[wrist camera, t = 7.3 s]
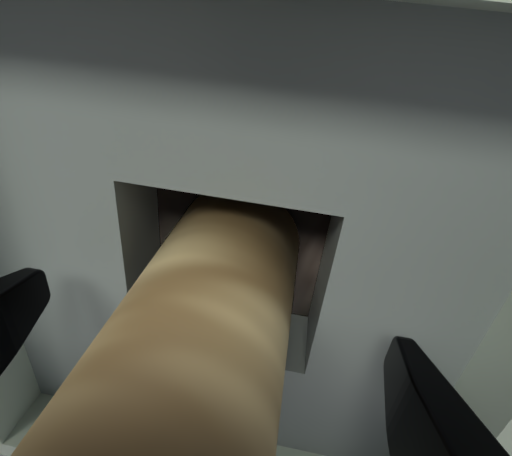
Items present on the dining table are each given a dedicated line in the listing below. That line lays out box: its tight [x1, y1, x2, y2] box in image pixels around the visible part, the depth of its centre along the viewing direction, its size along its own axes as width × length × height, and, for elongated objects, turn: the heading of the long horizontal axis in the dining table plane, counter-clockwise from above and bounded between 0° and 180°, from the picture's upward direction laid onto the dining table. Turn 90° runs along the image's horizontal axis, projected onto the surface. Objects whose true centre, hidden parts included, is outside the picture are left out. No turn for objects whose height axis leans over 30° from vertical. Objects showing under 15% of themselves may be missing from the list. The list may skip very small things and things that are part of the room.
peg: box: [11, 195, 299, 456], centre depth 9 cm, size 4×4×8 cm
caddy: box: [0, 0, 512, 456], centre depth 10 cm, size 16×16×4 cm
